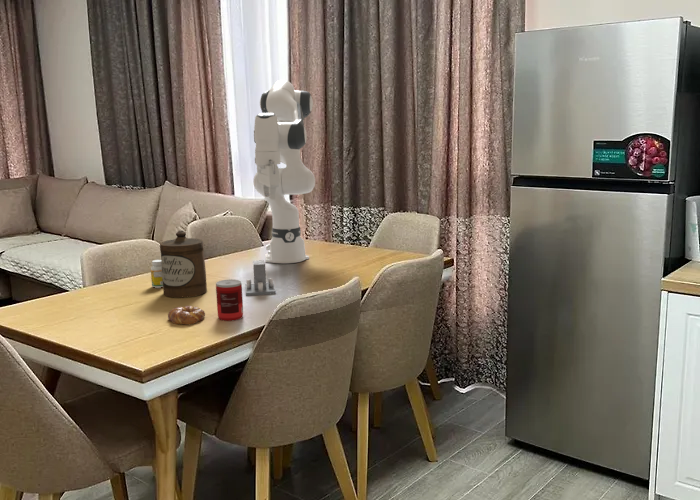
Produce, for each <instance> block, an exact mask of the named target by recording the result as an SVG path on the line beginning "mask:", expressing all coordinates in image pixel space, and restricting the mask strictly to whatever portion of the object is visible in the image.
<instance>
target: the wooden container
mask: <svg viewBox="0 0 700 500" xmlns="http://www.w3.org/2000/svg"><path fill="white" fill-rule="evenodd" d="M175 236H176V237H175V239H170V240H165V241H161V242H160V243H159V250H160V260H161V263H162V281H163V288H162V291H163V296H165V297H167V298H174V299H179V298H180V299H181V298H182V299H184V297H186V298H192V297H197V296H200V295H201V296H202V295H204V294H206V293H207V292H208V288H207V287H208V286H207V271H206V261H205V251H204V240H202V239H200V238H192V237H191V238H190V237H189V238H188V237H187V232H186V231H184V230H178V231H176V232H175Z"/></svg>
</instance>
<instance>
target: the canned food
mask: <svg viewBox="0 0 700 500" xmlns="http://www.w3.org/2000/svg"><path fill="white" fill-rule="evenodd" d="M215 295H216V308H217V318H218V319H219V320H220V321H223V320H224V322H231V321H232V320H234V321H239V320H240V319H242V318H243V316H244V305H243V301H244V300H243V285H242V280H239V279H232V278H231V279H230V278H229V279H223V280H218V281H216V282H215Z"/></svg>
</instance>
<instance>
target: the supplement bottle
mask: <svg viewBox="0 0 700 500" xmlns="http://www.w3.org/2000/svg"><path fill="white" fill-rule="evenodd" d="M151 265H152V266H151V267H150V278H151V280H150V281H151V287H152V288H153V287H155V288H154V289H162V288H161V287H163V281H162V263H161V259H154V260H152V261H151Z"/></svg>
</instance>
